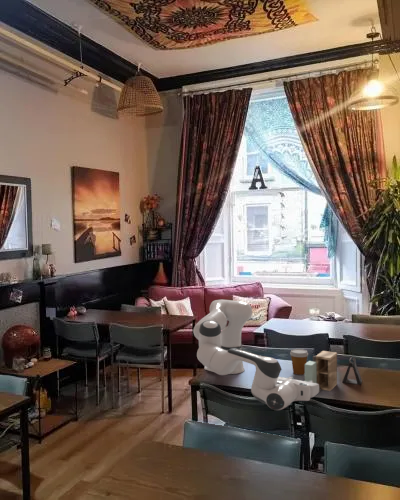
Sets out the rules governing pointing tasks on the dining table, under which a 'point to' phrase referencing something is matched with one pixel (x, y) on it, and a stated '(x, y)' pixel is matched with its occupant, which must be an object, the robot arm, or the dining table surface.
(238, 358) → the robot arm
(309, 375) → the pale green block
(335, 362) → the cabinet
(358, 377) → the dark grey triangular stand
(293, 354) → the disposable coffee cup
